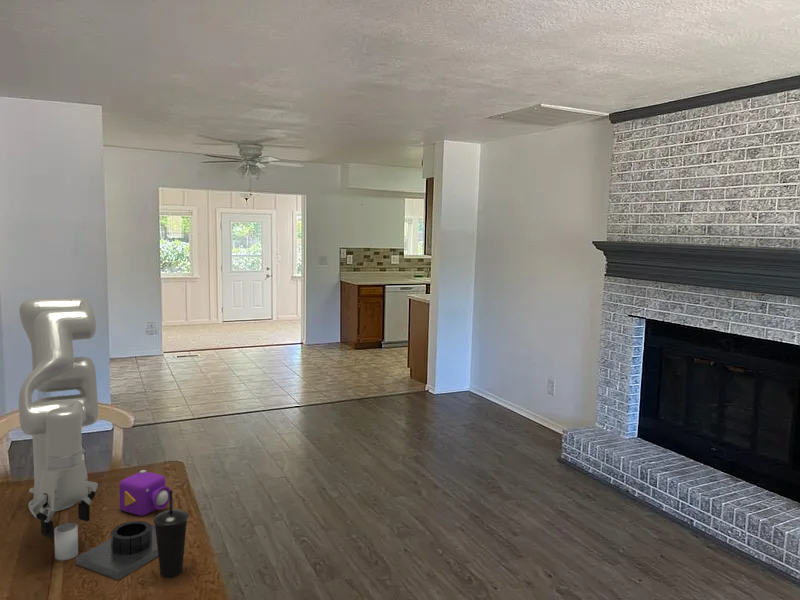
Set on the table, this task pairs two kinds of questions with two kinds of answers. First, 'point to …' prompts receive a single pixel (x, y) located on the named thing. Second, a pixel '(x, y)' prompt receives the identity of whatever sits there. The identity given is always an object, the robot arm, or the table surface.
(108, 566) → the lens mount
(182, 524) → the drinking cup
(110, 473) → the table surface
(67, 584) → the table surface
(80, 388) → the robot arm
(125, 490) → the toy camera
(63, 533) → the white cylinder
